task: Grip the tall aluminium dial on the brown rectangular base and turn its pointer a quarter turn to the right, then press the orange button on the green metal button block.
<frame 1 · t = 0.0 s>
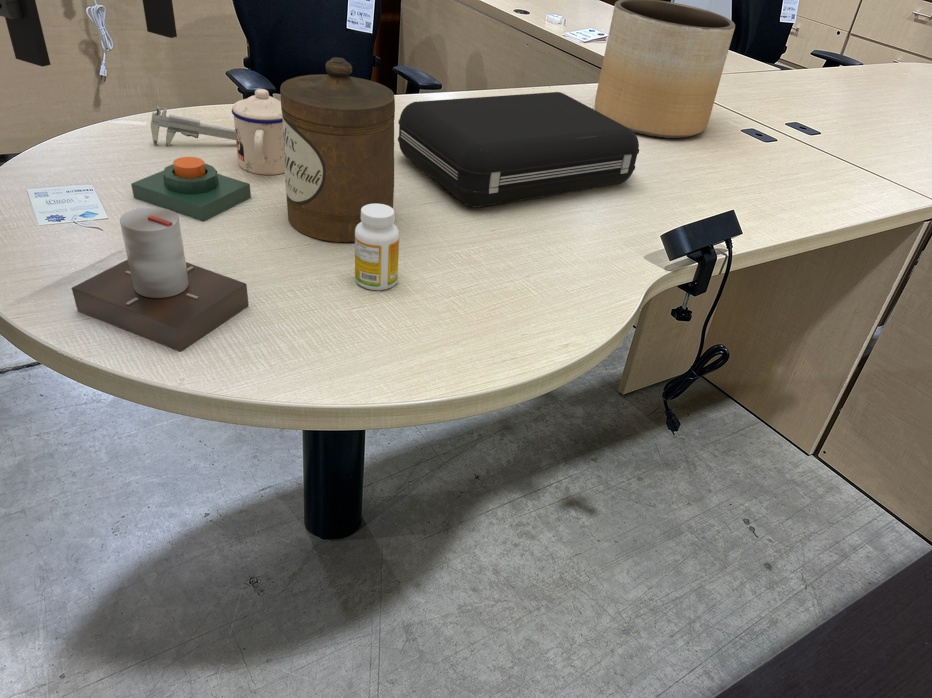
hand: (103, 47, 63), 29 cm above the table, tool pointing down, fingers open, 13 cm apart
button block: (193, 198, 105), on the table
wooden container: (340, 220, 106), on the table
dial: (155, 251, 79), point 7 cm above the table, hinge at 0.0°
caliper: (221, 147, 122), on the table
teacup with lid: (266, 169, 117), on the table
brown rectangular base: (165, 308, 83), on the table
supplement bottle: (376, 281, 94), on the table
button: (189, 168, 103), point 4 cm above the table, slide at 0.1 cm
briefcase: (506, 166, 131), on the table
planter: (648, 121, 164), on the table
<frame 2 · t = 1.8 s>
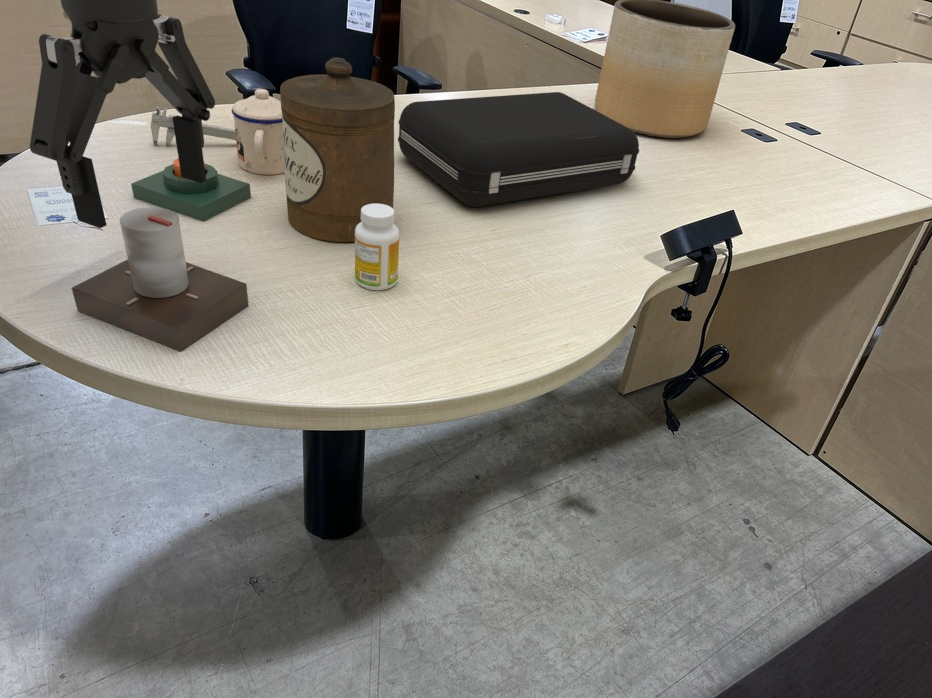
hand: (146, 200, 75), 13 cm above the table, tool pointing down, fingers open, 13 cm apart
nothing on the table moved.
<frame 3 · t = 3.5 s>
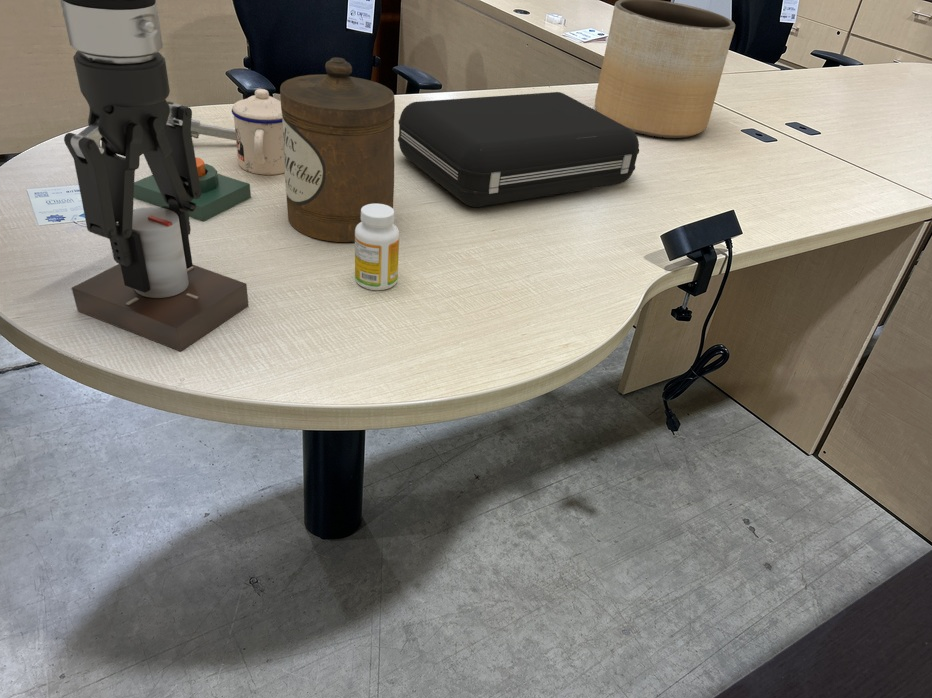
hand: (159, 274, 81), 4 cm above the table, tool pointing down, fingers closed on dial, 6 cm apart
dial: (155, 251, 79), point 7 cm above the table, hinge at 0.0°, touching gripper
everything else where it was.
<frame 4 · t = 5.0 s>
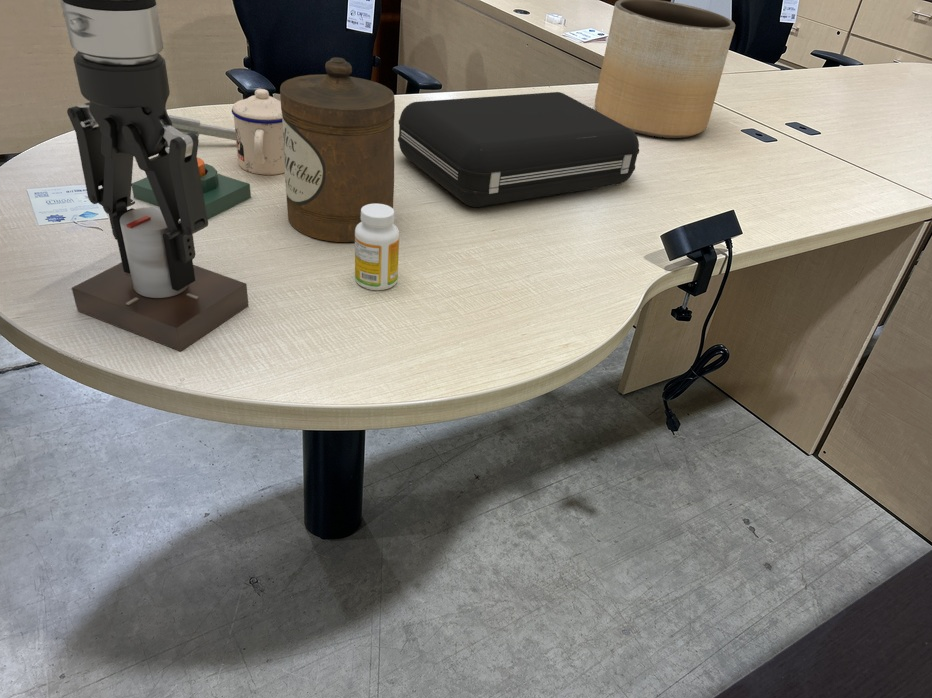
hand: (159, 275, 81), 4 cm above the table, tool pointing down, fingers open, 6 cm apart
dial: (155, 251, 79), point 7 cm above the table, hinge at -90.5°
everything else where it was.
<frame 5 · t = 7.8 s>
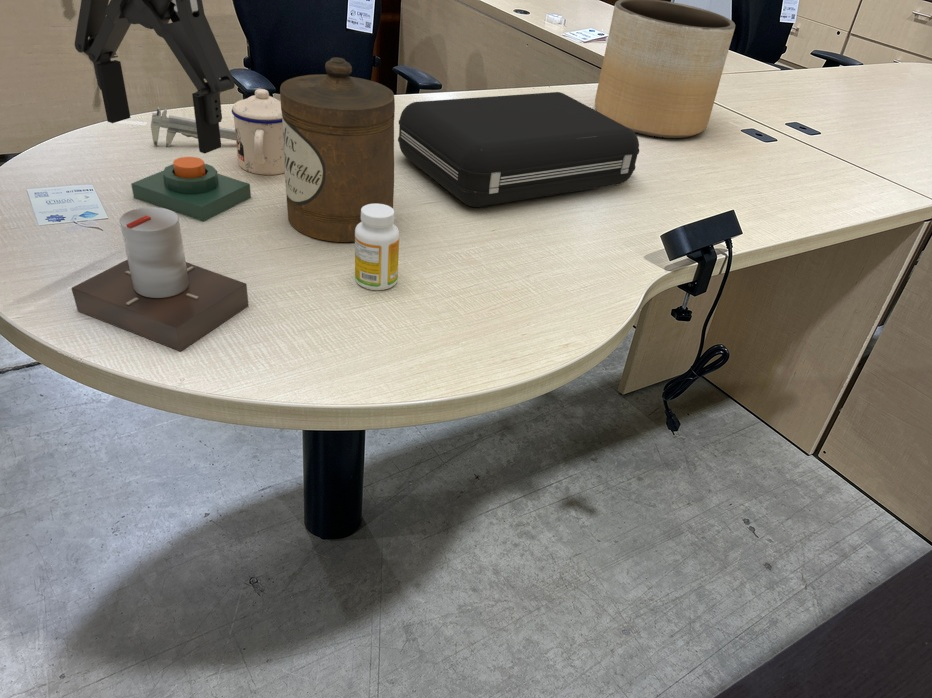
hand: (164, 134, 86), 14 cm above the table, tool pointing down, fingers open, 13 cm apart
nothing on the table moved.
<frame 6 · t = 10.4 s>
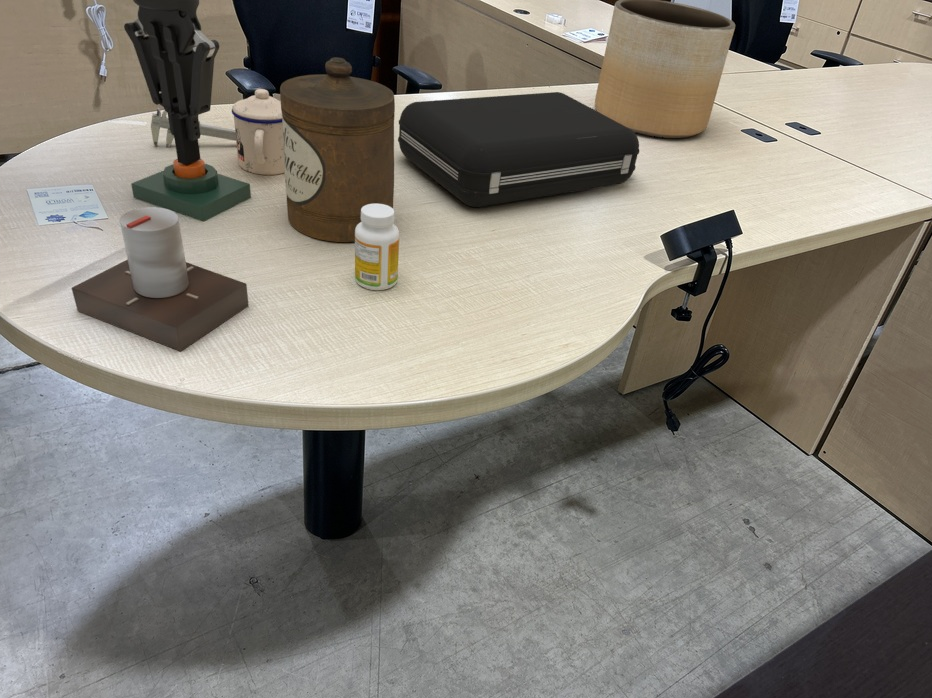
hand: (189, 160, 102), 6 cm above the table, tool pointing down, fingers closed
button: (189, 168, 103), point 4 cm above the table, slide at 0.1 cm, touching gripper
everything else where it was.
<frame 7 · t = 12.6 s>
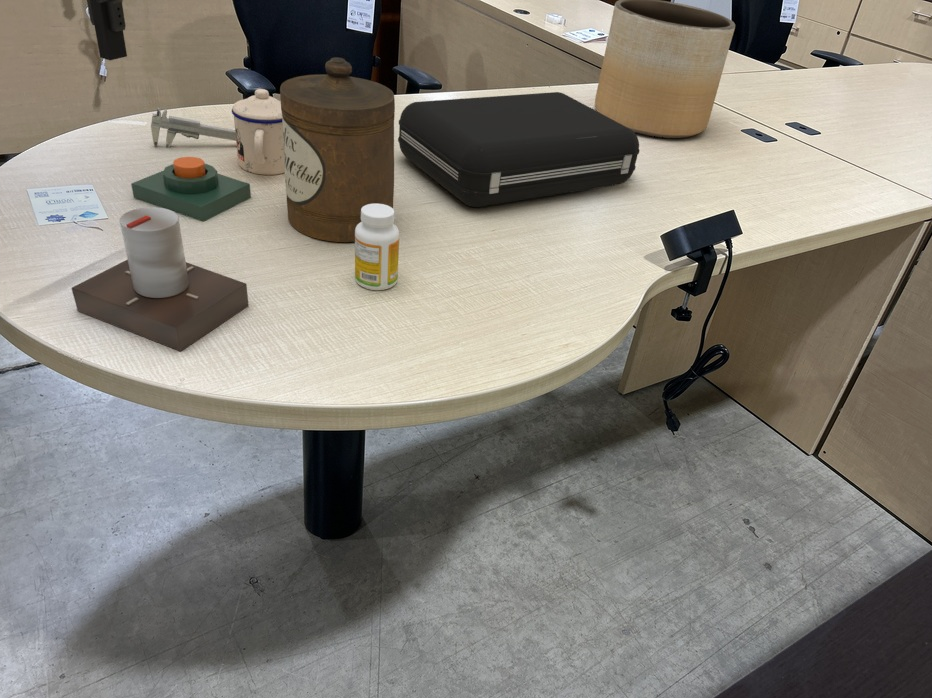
hand: (113, 56, 90), 19 cm above the table, tool pointing down, fingers closed
button: (189, 168, 103), point 4 cm above the table, slide at 0.1 cm
everything else where it was.
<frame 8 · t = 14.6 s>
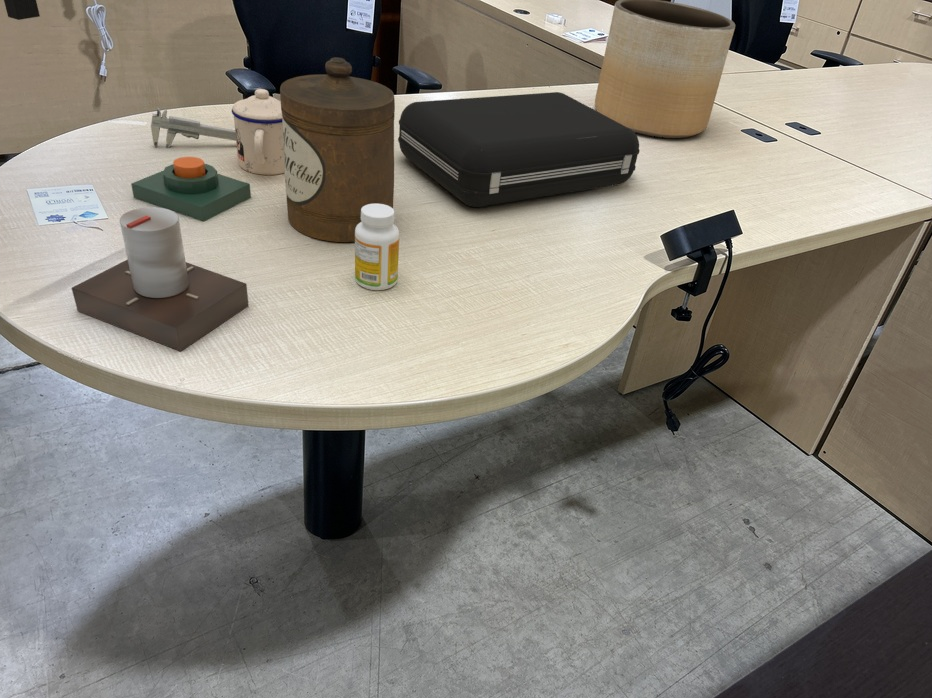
hand: (24, 16, 82), 24 cm above the table, tool pointing down, fingers closed
nothing on the table moved.
at the end: dial at -90° (first picture: +0°); button pushed in 1.0 cm at the most during the clip, back to where it started at the end; button slide at 0.1 cm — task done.
